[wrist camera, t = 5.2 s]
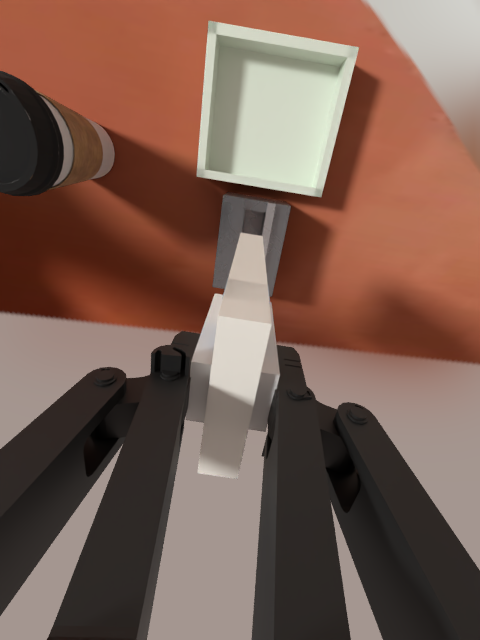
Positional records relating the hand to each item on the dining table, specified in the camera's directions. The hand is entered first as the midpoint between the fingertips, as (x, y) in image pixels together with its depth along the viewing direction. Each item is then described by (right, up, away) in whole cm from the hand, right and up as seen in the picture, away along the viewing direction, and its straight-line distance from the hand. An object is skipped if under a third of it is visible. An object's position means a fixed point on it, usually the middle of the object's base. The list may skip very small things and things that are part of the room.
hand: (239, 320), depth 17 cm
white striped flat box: (0, +3, +6) cm, 7 cm away
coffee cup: (-17, +20, +18) cm, 32 cm away
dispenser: (+1, +10, +21) cm, 24 cm away
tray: (+3, +21, +16) cm, 27 cm away
